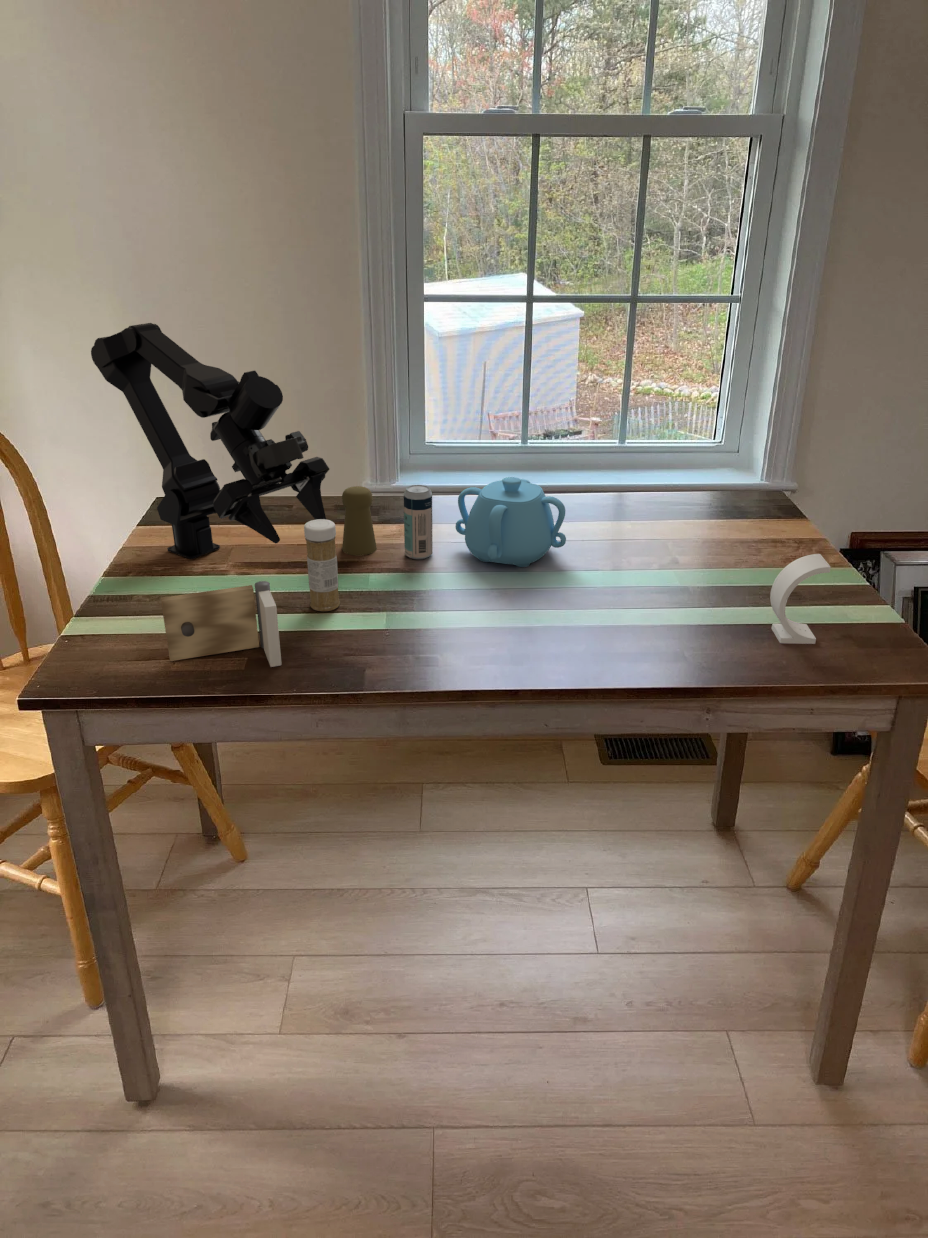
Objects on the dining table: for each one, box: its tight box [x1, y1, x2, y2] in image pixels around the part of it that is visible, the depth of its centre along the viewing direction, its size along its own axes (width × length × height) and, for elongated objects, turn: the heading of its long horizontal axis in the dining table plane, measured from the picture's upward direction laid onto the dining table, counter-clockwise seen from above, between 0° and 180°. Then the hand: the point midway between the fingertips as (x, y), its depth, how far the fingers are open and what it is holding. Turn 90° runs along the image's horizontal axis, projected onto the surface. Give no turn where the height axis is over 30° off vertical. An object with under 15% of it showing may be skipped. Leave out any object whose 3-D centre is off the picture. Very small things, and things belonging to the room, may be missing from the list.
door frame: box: [254, 580, 283, 668], centre depth 128 cm, size 7×2×10 cm, turn 21°
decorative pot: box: [454, 476, 567, 568], centre depth 159 cm, size 16×16×14 cm
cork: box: [341, 485, 378, 556], centre depth 162 cm, size 6×6×11 cm
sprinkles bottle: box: [303, 519, 341, 612], centre depth 141 cm, size 5×5×13 cm
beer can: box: [403, 484, 434, 560], centre depth 159 cm, size 5×5×12 cm
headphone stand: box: [769, 553, 832, 645], centre depth 134 cm, size 5×6×12 cm
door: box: [160, 584, 260, 662], centre depth 128 cm, size 12×2×9 cm, turn 111°
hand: (302, 533), depth 141 cm, fingers open, 9 cm apart
